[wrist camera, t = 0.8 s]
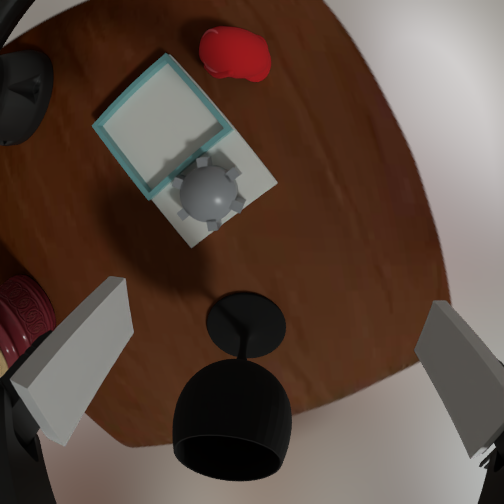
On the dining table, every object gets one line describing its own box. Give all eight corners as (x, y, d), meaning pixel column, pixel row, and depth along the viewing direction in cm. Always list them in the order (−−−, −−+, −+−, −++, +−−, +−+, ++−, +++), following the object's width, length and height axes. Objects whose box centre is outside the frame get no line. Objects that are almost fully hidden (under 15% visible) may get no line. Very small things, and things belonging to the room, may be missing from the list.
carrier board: (101, 126, 29) (84, 125, 25) (173, 57, 26) (162, 47, 22) (193, 244, 33) (185, 256, 30) (277, 181, 30) (278, 185, 27)
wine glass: (302, 330, 37) (318, 465, 18) (243, 367, 39) (227, 491, 21) (249, 276, 34) (226, 410, 16) (191, 321, 37) (139, 444, 18)
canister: (4, 295, 40) (-52, 341, 23) (21, 258, 36) (-51, 305, 20) (44, 345, 42) (-5, 402, 26) (67, 316, 39) (5, 383, 23)
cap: (177, 66, 24) (210, 84, 22) (199, 15, 20) (237, 25, 18) (233, 76, 29) (267, 95, 27) (254, 34, 26) (292, 49, 24)
